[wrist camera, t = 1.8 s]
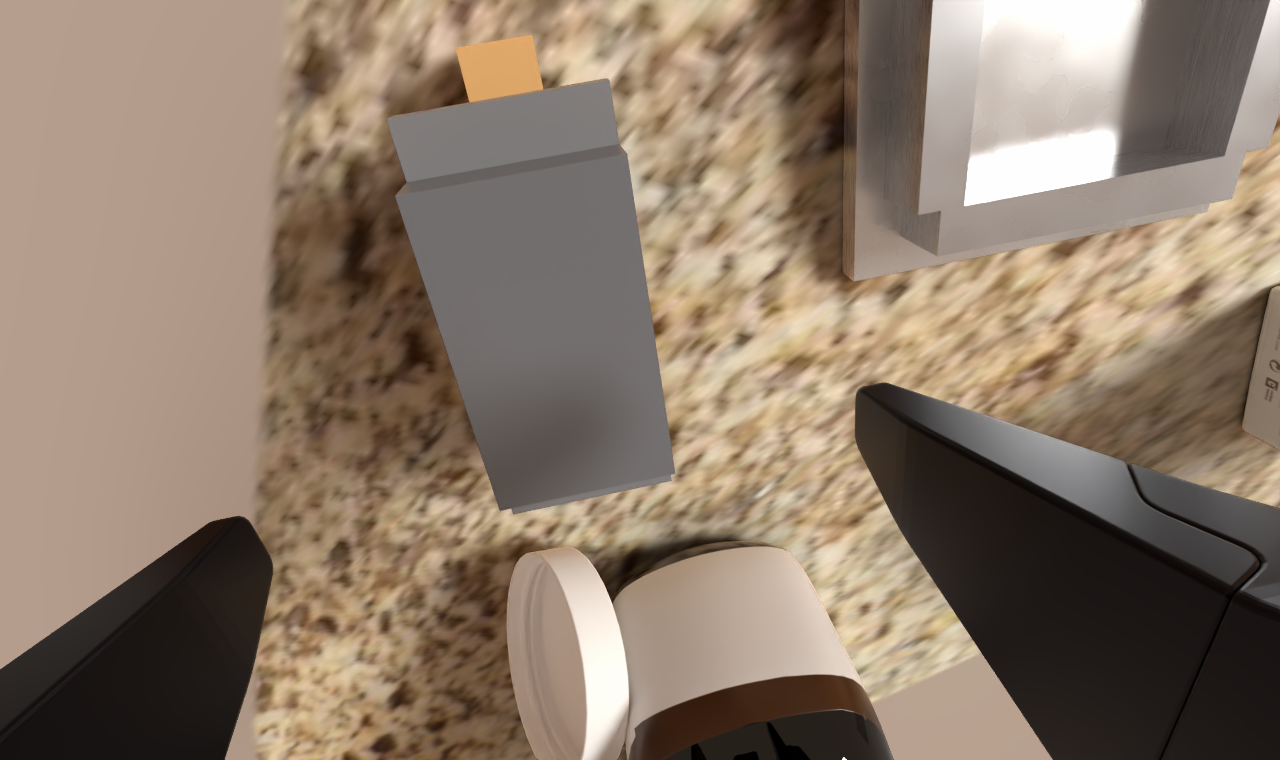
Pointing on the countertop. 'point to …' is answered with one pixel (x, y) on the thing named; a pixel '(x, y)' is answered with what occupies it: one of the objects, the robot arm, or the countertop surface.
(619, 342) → the block
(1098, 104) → the tray
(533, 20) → the countertop surface
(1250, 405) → the small box
